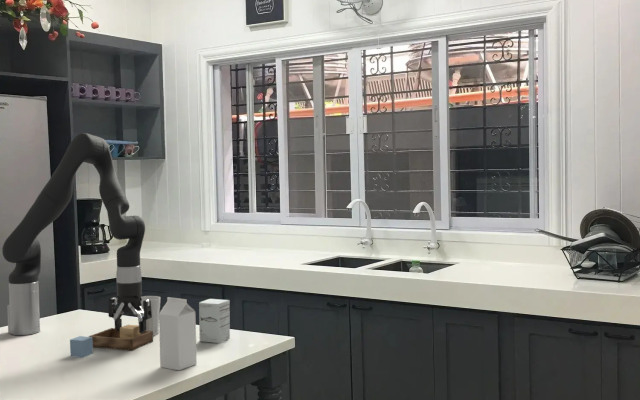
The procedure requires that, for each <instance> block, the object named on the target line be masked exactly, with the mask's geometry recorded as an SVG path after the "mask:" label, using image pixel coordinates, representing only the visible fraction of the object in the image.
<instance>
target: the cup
mask: <svg viewBox="0 0 640 400" xmlns="http://www.w3.org/2000/svg"><path fill="white" fill-rule="evenodd" d="M141 298H142V300H148V299H150V300H151V310H152V318H150V319H147V320H146V331H153V337H154V336H158V335H160V334H159V313H160V311H161V309H160V308H161V296H158V295H144V296H141ZM141 307H142V309H143V306H142V305H141ZM143 310H144V309H143ZM138 312H139V311H138ZM139 321H140V320H139V319H138V318H137V323H138V324H139Z"/></svg>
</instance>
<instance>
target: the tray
mask: <svg viewBox="0 0 640 400" xmlns="http://www.w3.org/2000/svg"><path fill="white" fill-rule="evenodd" d="M87 337H92V339H93V348H95V349H96V348H99V349H110V350H120V351H132V352H133V351H134V350H137V349H139V348H141V347H143V346H146V345H148V344H151V343H153V342H154V336H153V331H145V332H144V333H141V335H140V336H137V337H135V338H132V339H124V338H120V331H119V332H117V331H116V330H115V327H110V328H108V329H105V330H102V331H99V332H97V333H94V334H91V335H89V336H88V335H87Z"/></svg>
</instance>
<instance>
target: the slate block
mask: <svg viewBox="0 0 640 400" xmlns="http://www.w3.org/2000/svg"><path fill="white" fill-rule="evenodd" d="M69 344H70V345H69V349H70V350H69V351H70V352H69V353H70V354H69V355H70V357H74V358H76V357H77V358H85V357H88V356H91V355H92V354H94V349H93V348H94V347H93V339H92V337H88V336H84V335H83V336H82V335H79V336H76V337H74V338H70V339H69Z"/></svg>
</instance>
